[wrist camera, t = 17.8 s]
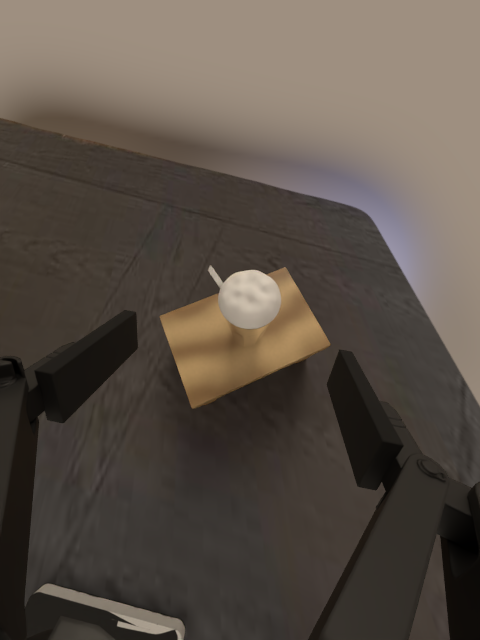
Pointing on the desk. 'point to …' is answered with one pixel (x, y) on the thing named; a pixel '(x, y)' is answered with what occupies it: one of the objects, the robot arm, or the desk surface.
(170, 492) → the desk surface
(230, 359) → the stool
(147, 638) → the smartphone
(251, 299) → the milkshake
